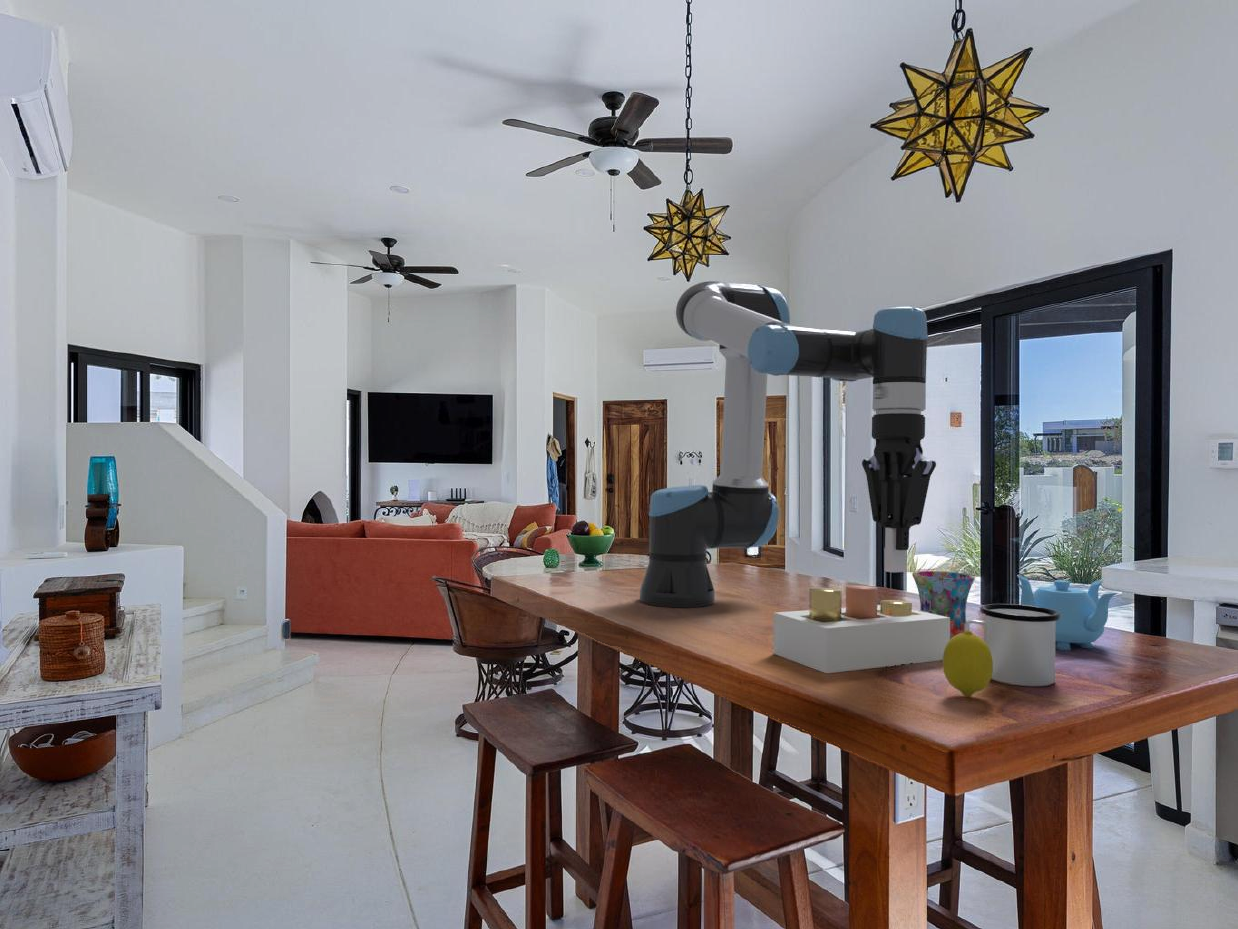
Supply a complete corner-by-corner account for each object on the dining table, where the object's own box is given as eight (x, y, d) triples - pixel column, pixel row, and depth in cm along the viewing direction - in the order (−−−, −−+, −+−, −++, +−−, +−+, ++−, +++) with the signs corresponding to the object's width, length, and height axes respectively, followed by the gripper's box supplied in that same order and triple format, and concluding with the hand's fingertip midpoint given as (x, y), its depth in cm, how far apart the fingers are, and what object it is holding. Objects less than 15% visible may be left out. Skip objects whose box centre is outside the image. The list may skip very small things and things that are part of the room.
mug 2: (1072, 680, 103) (1073, 611, 103) (1040, 693, 97) (1041, 619, 97) (981, 662, 113) (982, 598, 113) (947, 672, 107) (948, 605, 107)
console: (773, 653, 116) (774, 612, 116) (889, 642, 125) (890, 604, 125) (826, 673, 105) (826, 628, 105) (949, 659, 114) (950, 617, 114)
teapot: (1016, 633, 134) (1016, 573, 134) (1107, 641, 128) (1107, 578, 128) (1017, 648, 122) (1017, 582, 123) (1117, 657, 117) (1118, 589, 117)
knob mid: (839, 620, 116) (839, 586, 116) (862, 618, 118) (863, 584, 118) (859, 625, 112) (860, 590, 112) (883, 623, 114) (884, 589, 114)
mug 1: (954, 650, 120) (955, 580, 120) (899, 639, 127) (900, 573, 127) (994, 640, 127) (995, 574, 127) (940, 631, 135) (941, 568, 135)
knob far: (873, 634, 119) (874, 600, 119) (896, 632, 121) (896, 599, 121) (894, 640, 115) (895, 605, 115) (917, 637, 117) (918, 603, 117)
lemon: (951, 687, 99) (952, 624, 99) (998, 696, 95) (999, 630, 95) (935, 697, 95) (936, 630, 95) (984, 706, 91) (985, 637, 91)
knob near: (802, 623, 114) (803, 588, 114) (827, 621, 115) (828, 586, 116) (822, 629, 110) (822, 593, 110) (847, 627, 111) (848, 591, 111)
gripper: (849, 414, 122) (845, 566, 123) (911, 410, 110) (908, 579, 111) (886, 416, 125) (883, 564, 126) (951, 412, 114) (948, 576, 114)
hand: (895, 571), depth 118 cm, fingers closed
